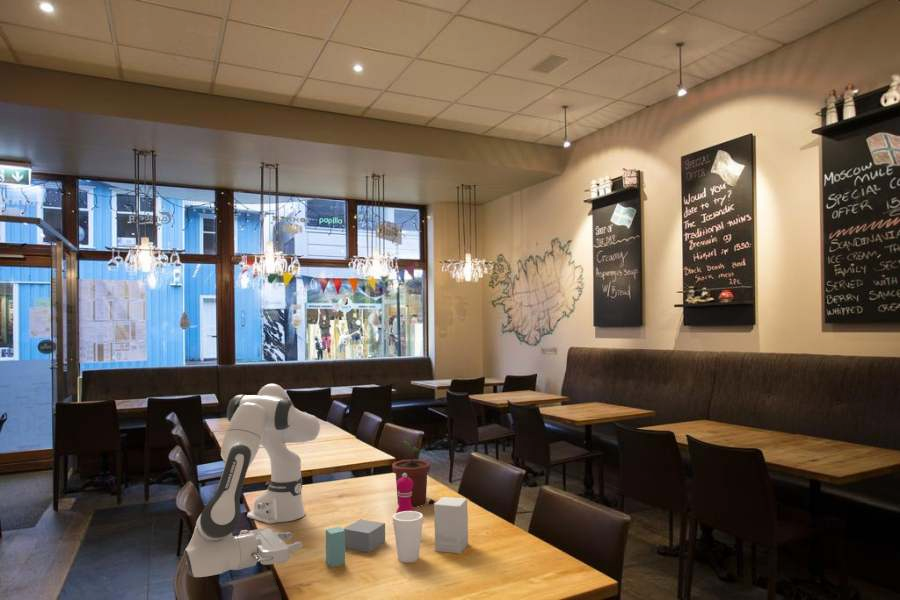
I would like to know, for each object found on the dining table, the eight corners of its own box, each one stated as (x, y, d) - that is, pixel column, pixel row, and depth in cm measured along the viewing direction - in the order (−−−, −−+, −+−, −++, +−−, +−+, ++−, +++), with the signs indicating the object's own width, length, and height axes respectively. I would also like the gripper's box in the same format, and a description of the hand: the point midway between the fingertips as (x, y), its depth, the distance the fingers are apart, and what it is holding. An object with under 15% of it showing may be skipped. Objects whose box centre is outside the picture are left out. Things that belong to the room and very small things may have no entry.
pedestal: (343, 547, 184) (343, 528, 185) (360, 536, 193) (360, 519, 194) (368, 552, 180) (368, 533, 180) (385, 541, 189) (385, 523, 189)
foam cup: (411, 566, 169) (410, 523, 169) (387, 560, 174) (386, 517, 174) (429, 555, 177) (428, 513, 177) (405, 549, 182) (405, 509, 182)
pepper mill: (412, 534, 195) (411, 476, 196) (392, 532, 197) (392, 475, 198) (417, 526, 202) (417, 470, 203) (398, 525, 204) (398, 470, 205)
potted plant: (381, 503, 230) (381, 442, 231) (419, 491, 246) (418, 433, 247) (412, 512, 218) (411, 447, 220) (449, 499, 235) (448, 438, 236)
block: (331, 567, 169) (330, 533, 170) (325, 562, 173) (325, 529, 173) (345, 563, 172) (344, 530, 172) (339, 558, 175) (339, 526, 176)
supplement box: (469, 543, 186) (468, 498, 187) (460, 554, 177) (460, 506, 178) (443, 540, 189) (442, 495, 190) (434, 551, 180) (433, 503, 181)
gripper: (256, 550, 150) (307, 539, 157) (240, 528, 167) (286, 520, 174) (256, 574, 149) (307, 562, 157) (239, 550, 167) (286, 540, 174)
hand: (296, 539), depth 166 cm, fingers open, 8 cm apart
